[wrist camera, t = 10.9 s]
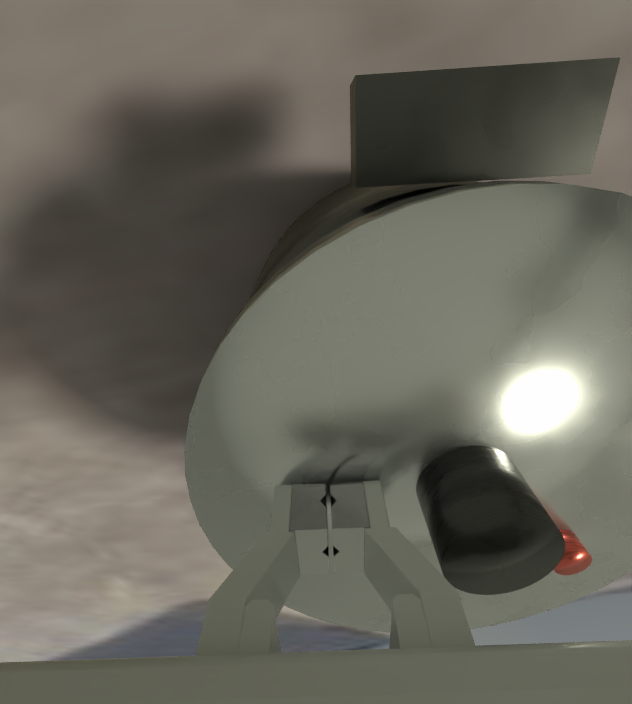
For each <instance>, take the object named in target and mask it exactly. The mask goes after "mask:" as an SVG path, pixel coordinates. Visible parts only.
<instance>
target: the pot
mask: <svg viewBox="0 0 632 704" xmlns="http://www.w3.org/2000/svg"><path fill="white" fill-rule="evenodd" d="M619 60H620V58H606V59H591V60H576V61H561V62H547V63H532V64H517V65H502V66H488V67H473V68H458V69H443V70H428V71H414V72H399V73H384V74H369V75H355V77H354V79H353V81H352V83H351V85H350V126H351V183H352V184H350V185H348V186H346V187H343V188H341V189H339V190H337V191H335V192H333V193H332V194H330V195H328V196H327V197H325V198H323V199H322V200H320V201H318V202H317V203H316V204H315V205H313V206H312V207H311V208H310V209H308V210H307V211H306V212H305V213H303V214H302V215H301V216H300V217H299V218H298V219H297V220H296V221H295V222H294V223H293V224H292V226H291V227H290V228H289V229H288V230H287V231H286V232H285V234H284V235H283V236H282V238H281V239H280V240H279V242H278V243H277V245H276V246H275V247H274V249H273V251H272V253H271V255H270V257H269V258H268V260H267V262H266V264H265V266H264V268H263V271H262V273H261V275H260V277H259V280H258V282H257V284H256V287H255V289H254V291H253V293H252V296H251V298H252V297H253V296H254V295H255V294H256V293H257V292H258V291H259V290H260V289H261V288H262V287H263V286H264V284H265V283H266V282H267V281H268V280H269V279H270V278H271V277H272V276H273V275H274V274H275V273H276V272H277V271H278V270H280V269H281V268H282V267H283V266H285V265H286V264H287V263H289V262H290V261H291V260H293V259H294V258H295V257H296V256H298V255H299V254H300V253H302V252H303V251H304V250H305V249H307V248H308V247H309V246H311V245H312V244H313V243H315V242H317V241H318V240H320V239H322V238H323V237H325V236H327V235H329V234H330V233H332V232H334V231H335V230H337V229H339V228H341V227H342V226H344V225H346V224H347V223H349V222H351V221H353V220H354V219H357V218H359V217H361V216H364V215H366V214H369V213H371V212H373V211H376V210H378V209H381V208H383V207H385V206H388V205H390V204H392V203H395V202H397V201H400V200H403V199H407V198H411V197H414V196H418V195H422V194H425V193H429V192H433V191H436V190H440V189H443V188H447V187H454V186H462V185H469V184H477V183H483V182H478V181H480V180H496V179H513V178H530V177H546V176H563V175H580V174H591V170H592V167H593V163H594V159H595V155H596V151H597V147H598V143H599V139H600V135H601V131H602V127H603V123H604V119H605V115H606V111H607V107H608V104H609V100H610V96H611V92H612V88H613V84H614V80H615V76H616V72H617V68H618V64H619ZM251 298H250V299H251Z"/></svg>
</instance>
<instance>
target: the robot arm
mask: <svg viewBox="0 0 632 704" xmlns="http://www.w3.org/2000/svg"><path fill="white" fill-rule="evenodd" d="M330 495H331V517H332V536H333V554H334V569H335V572H365V575H366V576H367V578H368V579H369V581H370V582H371V584H372V585H373V586H374V588H375V589H376V591H377V592H378V594H379V595H380V597H381V598H382V600H383V601H384V602H385V604H386V605H387V607H388V608H389V610H390V611H391V613H392V616H391V631H390V646H389V649H370V650H342V651H315V652H288V653H282V651H281V646H280V640H279V635H278V629H277V624H276V618H277V616H278V614H279V612H280V611H281V609H282V607H283V605H284V604H285V602H286V600H287V598H288V597H289V595H290V593H291V591H292V590H293V588H294V586H295V584H296V583H297V581H298V579H299V577H300V574H312V573H326V572H329V545H328V519H327V503H326V486H325V484H293V485H276V486H275V489H274V496H273V505H272V513H271V522H270V530H269V532H268V533H264V534H263V535H262V536H261V537H260V539H259V540H258V541H257V542H256V543H255V545H254V546H253V547H252V548H251V549H250V551H249V552H248V553H247V554H246V556H245V557H244V558H243V559H242V560H241V562H240V563H239V564H238V565H237V566H236V568H235V569H234V570H233V571H232V572H231V574H230V575H229V576H228V577H227V579H226V580H225V581H224V582H223V583H222V585H221V586H220V587H219V588H218V589H217V591H216V592H215V593H214V594H213V596H212V597H211V598H210V599H209V602H208V606H207V610H206V614H205V618H204V622H203V627H202V631H201V635H200V639H199V643H198V648H197V652H196V656H175V657H147V658H118V659H90V660H61V661H31V662H2V663H0V704H632V640H626V641H598V642H572V643H571V642H569V643H544V644H543V643H542V644H516V645H515V644H514V645H513V644H512V645H484V646H475V643H474V640H473V637H472V634H471V631H470V628H469V625H468V622H467V618H466V615H465V612H464V609H463V606H462V603H461V600H460V597H459V594H458V591H457V590H456V589H455V588H454V587H453V586H452V585H451V584H450V583H449V582H448V581H447V580H446V579H445V578H444V577H443V576H442V575H441V574H440V573H439V572H438V571H437V570H436V568H435V567H434V566H433V565H432V564H431V563H430V562H429V561H428V560H427V559H426V558H425V557H424V556H423V555H422V554H421V553H420V552H419V551H418V550H417V549H416V548H415V547H414V546H413V545H412V544H411V543H410V542H409V541H408V540H407V539H406V538H405V537H404V536H403V535H402V534H401V533H400V532H399V531H398V529H397V528H396V527H390V524H389V519H388V514H387V509H386V504H385V500H384V495H383V490H382V485H381V482H380V481H379V480H378V481H363V482H362V481H358V482H340V483H330Z"/></svg>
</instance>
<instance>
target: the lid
mask: <svg viewBox="0 0 632 704" xmlns="http://www.w3.org/2000/svg"><path fill="white" fill-rule="evenodd" d="M185 476H186V481H187V485H188V490H189V495H190V500H191V503H192V506H193V508H194V511H195V514H196V516H197V519H198V521H199V524H200V526H201V528H202V529H203V531H204V533H205V534H206V536H207V538H208V539H209V541H210V543H211V544H212V546H213V547H214V549H215V550H216V551H217V552H218V553H219V555H220V556H221V557H222V558H223V559H224V561H225V562H226V563H227V564H228V565H229V566H230V567H231V568H232V569H233V570H234V569H235V568H236V566H237V565H238V564H239V563H240V562H241V560H242V559H243V558H244V557H245V556H246V554H247V553H248V552H249V551H250V549H251V548H252V547H253V546H254V545H255V543H256V542H257V541H258V540H259V539H260V537H261V536H262V535H263V534H264V533H268V532H269V530H270V522H271V513H272V505H273V496H274V489H275V486H276V485H293V484H325V486H326V503H327V519H328V545H329V572H326V573H312V574H300V577H299V579H298V581H297V583H296V584H295V586H294V588H293V590H292V591H291V593H290V595H289V597H288V598H287V600H286V602H285V604H284V605H285V606H287V607H289V608H291V609H293V610H296V611H298V612H301V613H303V614H306V615H308V616H311V617H314V618H317V619H320V620H324V621H327V622H330V623H334V624H338V625H343V626H348V627H353V628H357V629H363V630H372V631H380V632H390V631H391V616H392V613H391V611H390V610H389V608H388V607H387V605H386V604H385V602H384V601H383V600H382V598H381V597H380V595H379V594H378V592H377V591H376V589H375V588H374V586H373V585H372V584H371V582H370V581H369V579H368V578H367V576H366V575H365V572H335V569H334V554H333V536H332V517H331V495H330V483H340V482H358V481H362V482H363V481H378V480H379V481H380V482H381V485H382V490H383V495H384V500H385V504H386V509H387V514H388V519H389V524H390V527H396V528H397V529H398V531H399V532H400V533H401V534H402V535H403V536H404V537H405V538H406V539H407V540H408V541H409V542H410V543H411V544H412V545H413V546H414V547H415V548H416V549H417V550H418V551H419V552H420V553H421V554H422V555H423V556H424V557H425V558H426V559H427V560H428V561H429V562H430V563H431V564H432V565H433V566H434V567H435V568H436V570H437V571H438V572H439V573H440V574H441V575H442V576H443V577H444V578H445V579H446V580H447V581H448V582H449V583H450V584H451V585H452V586H453V587H454V588H455V589H456V590H457V591H458V594H459V597H460V600H461V603H462V606H463V609H464V612H465V615H466V618H467V622H468V625H469V628H470V629H475V628H481V627H486V626H493V625H497V624H501V623H506V622H510V621H514V620H518V619H522V618H525V617H529V616H532V615H535V614H538V613H541V612H545V611H548V610H551V609H553V608H556V607H558V606H561V605H564V604H566V603H569V602H571V601H574V600H576V599H579V598H581V597H583V596H585V595H587V594H589V593H591V592H594V591H596V590H598V589H600V588H602V587H604V586H606V585H608V584H609V583H611V582H613V581H615V580H617V579H618V578H620V577H622V576H624V575H625V574H627V573H629V572H631V571H632V196H629V195H626V194H623V193H619V192H613V191H606V190H600V189H594V188H588V187H582V186H575V185H569V184H561V183H553V182H545V181H492V182H484V183H477V184H469V185H462V186H454V187H447V188H443V189H440V190H436V191H433V192H429V193H425V194H422V195H418V196H414V197H411V198H407V199H403V200H400V201H397V202H395V203H392V204H390V205H388V206H385V207H383V208H381V209H378V210H376V211H373V212H371V213H369V214H366V215H364V216H361V217H359V218H357V219H354V220H353V221H351V222H349V223H347V224H346V225H344V226H342V227H341V228H339V229H337V230H335V231H334V232H332V233H330V234H329V235H327V236H325V237H323V238H322V239H320V240H318V241H317V242H315V243H313V244H312V245H311V246H309V247H308V248H307V249H305V250H304V251H303V252H302V253H300V254H299V255H298V256H296V257H295V258H294V259H293V260H291V261H290V262H289V263H287V264H286V265H285V266H283V267H282V268H281V269H280V270H278V271H277V272H276V273H275V274H274V275H273V276H272V277H271V278H270V279H269V280H268V281H267V282H266V283H265V284H264V286H263V287H262V288H261V289H260V290H259V291H258V292H257V293H256V294H255V295H254V296H253V297H252V298H251V299H250V300H249V301H248V302H247V304H246V305H245V306H244V308H243V309H242V310H241V312H240V313H239V314H238V316H237V317H236V318H235V320H234V321H233V323H232V324H231V325H230V327H229V328H228V329H227V331H226V332H225V334H224V336H223V338H222V340H221V342H220V344H219V345H218V347H217V349H216V351H215V353H214V355H213V357H212V359H211V361H210V362H209V365H208V367H207V369H206V371H205V374H204V376H203V378H202V381H201V383H200V386H199V389H198V392H197V395H196V398H195V401H194V404H193V407H192V410H191V413H190V416H189V422H188V429H187V435H186V441H185Z"/></svg>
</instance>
